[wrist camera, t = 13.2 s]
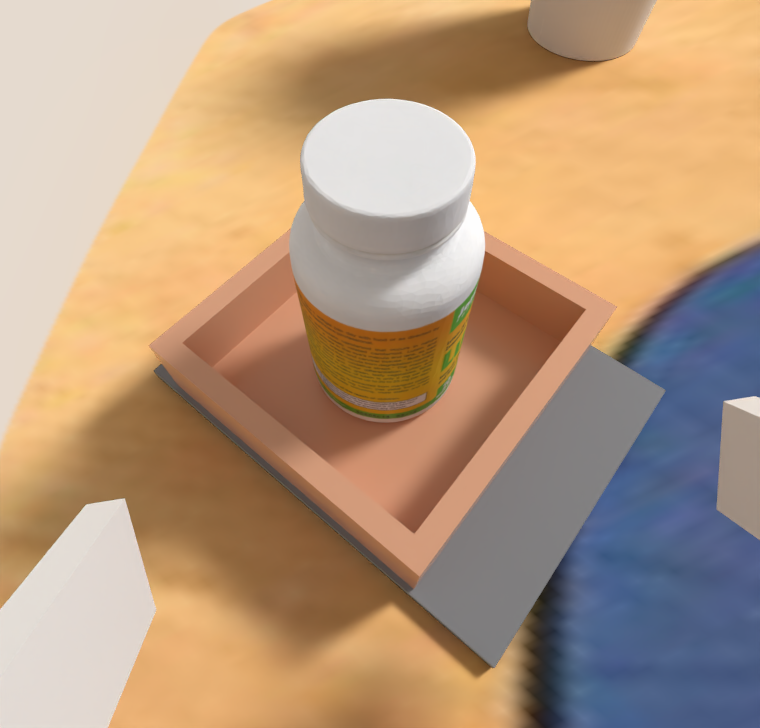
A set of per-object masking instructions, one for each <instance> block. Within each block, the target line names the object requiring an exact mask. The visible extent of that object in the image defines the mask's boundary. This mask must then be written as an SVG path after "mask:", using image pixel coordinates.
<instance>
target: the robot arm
mask: <svg viewBox="0 0 760 728" xmlns="http://www.w3.org/2000/svg"><path fill="white" fill-rule="evenodd" d="M717 510H718V511H720V512H721V513H722V514H724V515H725V516H727V517H728V518H730V519H731V520H732V521H734V522H735V523H737V524H738V525H739V526H741V527H742V528H744V529H745V530H746V531H748V532H749V533H751V534H752V535H753V536H755V537H756V538H758V539H759V540H760V398H758V397H756V396H754V397H748V398H742V399H735V400H729V401H723V417H722V433H721V449H720V465H719V481H718V497H717ZM155 612H156V607H155V604H154V600H153V597H152V593H151V590H150V586H149V583H148V579H147V575H146V572H145V568H144V565H143V561H142V558H141V554H140V551H139V547H138V543H137V540H136V536H135V533H134V529H133V526H132V522H131V518H130V515H129V511H128V508H127V504H126V501H125V498H123V499H117V500H110V501H104V502H98V503H92V504H86V505H85V506H84V508H83V509H82V510H81V511H80V513H79V514H78V515H77V516H76V517H75V519H74V520H73V521H72V522H71V524H70V525H69V526H68V527H67V528H66V530H65V531H64V532H63V533H62V535H61V536H60V537H59V538H58V539H57V541H56V542H55V543H54V544H53V546H52V547H51V548H50V549H49V550H48V552H47V553H46V554H45V555H44V557H43V558H42V559H41V560H40V561H39V563H38V564H37V565H36V566H35V568H34V569H33V570H32V571H31V573H30V574H29V575H28V576H27V577H26V579H25V580H24V581H23V582H22V584H21V585H20V586H19V587H18V588H17V590H16V591H15V592H14V593H13V595H12V596H11V597H10V598H9V599H8V601H7V602H6V603H5V604H4V606H3V607H2V608H1V609H0V728H108V726H109V723H110V721H111V719H112V716H113V714H114V711H115V709H116V706H117V704H118V702H119V699H120V697H121V694H122V692H123V689H124V687H125V685H126V682H127V680H128V677H129V675H130V672H131V670H132V668H133V665H134V663H135V660H136V658H137V655H138V653H139V651H140V648H141V646H142V643H143V641H144V638H145V636H146V634H147V631H148V629H149V626H150V624H151V622H152V619H153V617H154V614H155Z"/></svg>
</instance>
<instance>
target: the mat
mask: <svg viewBox="0 0 760 728" xmlns="http://www.w3.org/2000/svg"><path fill="white" fill-rule="evenodd" d="M154 372H155V374H156V375H157V376H158V377H159V378H160V379H162V380H163V381H164V382H165V383H166V384H167V385H168V386H170V387H171V388H172V389H173V390H174V391H175V392H176V393H178V394H179V395H180V396H181V397H182V398H183V399H184V400H186V401H187V402H188V403H189V404H190V405H191V406H193V407H194V408H195V409H196V410H197V411H198V412H199V413H201V414H202V415H203V416H204V417H205V418H206V419H207V420H209V421H210V422H211V423H212V424H213V425H214V426H215V427H217V428H218V429H219V430H220V431H221V432H222V433H223V434H225V435H226V436H227V437H228V438H229V439H230V440H231V441H233V442H234V443H235V444H236V445H237V446H238V447H239V448H241V449H242V450H243V451H244V452H245V453H246V454H248V455H249V456H250V457H251V458H252V459H253V460H254V461H256V462H257V463H258V464H259V465H260V466H261V467H262V468H264V469H265V470H266V471H267V472H268V473H269V474H270V475H272V476H273V477H274V478H275V479H276V480H277V481H278V482H280V483H281V484H282V485H283V486H284V487H285V488H286V489H288V490H289V491H290V492H291V493H292V494H293V495H294V496H296V497H297V498H298V499H299V500H300V501H301V502H303V503H304V504H305V505H306V506H307V507H308V508H309V509H311V510H312V511H313V512H314V513H315V514H316V515H317V516H319V517H320V518H321V519H322V520H323V521H324V522H325V523H327V524H328V525H329V526H330V527H331V528H332V529H333V530H335V531H336V532H337V533H338V534H339V535H340V536H341V537H343V538H344V539H345V540H346V541H347V542H348V543H349V544H351V545H352V546H353V547H354V548H355V549H356V550H358V551H359V552H360V553H361V554H362V555H363V556H364V557H366V558H367V559H368V560H369V561H370V562H371V563H372V564H374V565H375V566H376V567H377V568H378V569H379V570H380V571H382V572H383V573H384V574H385V575H386V576H387V577H388V578H390V579H391V580H392V581H393V582H394V583H395V584H396V585H398V586H399V587H400V588H401V589H402V590H403V591H404V592H406V593H407V594H408V595H409V596H410V597H411V598H413V599H414V600H415V601H416V602H417V603H418V604H419V605H421V606H422V607H423V608H424V609H425V610H426V611H427V612H429V613H430V614H431V615H432V616H433V617H434V618H435V619H437V620H438V621H439V622H440V623H441V624H442V625H443V626H445V627H446V628H447V629H448V630H449V631H450V632H451V633H453V634H454V635H455V636H456V637H457V638H458V639H460V640H461V641H462V642H463V643H464V644H465V645H466V646H468V647H469V648H470V649H471V650H472V651H473V652H474V653H476V654H477V655H478V656H479V657H480V658H481V659H482V660H484V661H485V662H486V663H487V664H488V665H489V666H490V667H492V668H495V666H496V665H497V663H498V662H499V660H500V658H501V657H502V655H503V653H504V652H505V650H506V649H507V647H508V645H509V644H510V642H511V640H512V639H513V637H514V636H515V634H516V632H517V631H518V629H519V628H520V626H521V624H522V623H523V621H524V619H525V618H526V616H527V615H528V613H529V611H530V610H531V608H532V606H533V605H534V603H535V602H536V600H537V598H538V597H539V595H540V594H541V592H542V590H543V589H544V587H545V585H546V584H547V582H548V581H549V579H550V577H551V576H552V574H553V572H554V571H555V569H556V568H557V566H558V564H559V563H560V561H561V559H562V558H563V556H564V555H565V553H566V551H567V550H568V548H569V547H570V545H571V543H572V542H573V540H574V538H575V537H576V535H577V534H578V532H579V530H580V529H581V527H582V525H583V524H584V522H585V521H586V519H587V517H588V516H589V514H590V513H591V511H592V509H593V508H594V506H595V504H596V503H597V501H598V500H599V498H600V496H601V495H602V493H603V491H604V490H605V488H606V487H607V485H608V483H609V482H610V480H611V478H612V477H613V475H614V474H615V472H616V470H617V469H618V467H619V466H620V464H621V462H622V461H623V459H624V457H625V456H626V454H627V453H628V451H629V449H630V448H631V446H632V444H633V443H634V441H635V440H636V438H637V436H638V435H639V433H640V432H641V430H642V428H643V427H644V425H645V423H646V422H647V420H648V419H649V417H650V415H651V414H652V412H653V410H654V409H655V407H656V406H657V404H658V402H659V401H660V399H661V397H662V396H663V394H664V393H665V391H666V390H664V389H663V388H661V387H659V386H658V385H656V384H654V383H653V382H651V381H649V380H648V379H646V378H644V377H643V376H641V375H639V374H638V373H636V372H634V371H633V370H631V369H629V368H628V367H626V366H624V365H623V364H621V363H619V362H618V361H616V360H614V359H613V358H611V357H610V356H608V355H606V354H605V353H603V352H601V351H600V350H598V349H596V348H595V347H593V346H591V347H590V348H589V350H588V351H587V352H586V354H585V355H584V356H583V358H582V359H581V361H580V362H579V363H578V365H577V366H576V367H575V369H574V370H573V371H572V373H571V374H570V376H569V377H568V378H567V380H566V381H565V382H564V384H563V385H562V387H561V388H560V389H559V391H558V392H557V393H556V395H555V396H554V398H553V399H552V400H551V402H550V403H549V404H548V406H547V407H546V409H545V410H544V411H543V413H542V414H541V415H540V417H539V418H538V420H537V421H536V422H535V424H534V425H533V426H532V428H531V429H530V430H529V432H528V433H527V435H526V436H525V437H524V439H523V440H522V441H521V443H520V444H519V446H518V447H517V448H516V450H515V451H514V452H513V454H512V455H511V457H510V458H509V459H508V461H507V462H506V463H505V465H504V466H503V468H502V469H501V470H500V472H499V473H498V474H497V476H496V477H495V479H494V480H493V481H492V483H491V484H490V485H489V487H488V488H487V489H486V491H485V492H484V494H483V495H482V496H481V498H480V499H479V500H478V502H477V503H476V505H475V506H474V507H473V509H472V510H471V511H470V513H469V514H468V516H467V517H466V518H465V520H464V521H463V522H462V524H461V525H460V527H459V528H458V529H457V531H456V532H455V533H454V535H453V536H452V537H451V539H450V540H449V542H448V543H447V544H446V546H445V547H444V548H443V550H442V551H441V553H440V554H439V555H438V557H437V558H436V559H435V561H434V562H433V564H432V565H431V566H430V568H429V569H428V570H427V572H426V573H425V575H424V576H423V577H422V579H421V580H420V581H419V583H418V584H417V586H416V587H415V588H414V589H413V588H412V587H411V586H410V585H408V584H407V583H406V582H405V581H404V580H403V579H401V578H400V577H399V576H398V575H397V574H396V573H395V572H393V571H392V570H391V569H390V568H389V567H388V566H386V565H385V564H384V563H383V562H382V561H381V560H379V559H378V558H377V557H376V556H375V555H374V554H373V553H371V552H370V551H369V550H368V549H367V548H366V547H364V546H363V545H362V544H361V543H360V542H359V541H358V540H356V539H355V538H354V537H353V536H352V535H351V534H349V533H348V532H347V531H346V530H345V529H344V528H342V527H341V526H340V525H339V524H338V523H337V522H336V521H334V520H333V519H332V518H331V517H330V516H329V515H327V514H326V513H325V512H324V511H323V510H322V509H321V508H319V507H318V506H317V505H316V504H315V503H314V502H312V501H311V500H310V499H309V498H308V497H307V496H305V495H304V494H303V493H302V492H301V491H300V490H299V489H297V488H296V487H295V486H294V485H293V484H292V483H290V482H289V481H288V480H287V479H286V478H285V477H284V476H282V475H281V474H280V473H279V472H278V471H277V470H275V469H274V468H273V467H272V466H271V465H270V464H268V463H267V462H266V461H265V460H264V459H263V458H262V457H260V456H259V455H258V454H257V453H256V452H255V451H253V450H252V449H251V448H250V447H249V446H248V445H247V444H245V443H244V442H243V441H242V440H241V439H240V438H238V437H237V436H236V435H235V434H234V433H233V432H231V431H230V430H229V429H228V428H227V427H226V426H225V425H223V424H222V423H221V422H220V421H219V420H218V419H216V418H215V417H214V416H213V415H212V414H211V413H210V412H208V411H207V410H206V409H205V408H204V407H203V406H201V405H200V404H199V403H198V402H197V401H196V400H194V399H193V398H192V397H191V396H190V395H189V394H188V393H186V392H185V391H184V390H183V389H182V388H181V387H179V386H178V385H177V384H176V382H175V381H174V380H173V378H172V377H171V375H170V374H169V373H168V371H167V370H166V369H165V367H164V366H163V365H162V364H161V365H160V366H159V367H157V368H156V369H155V370H154Z"/></svg>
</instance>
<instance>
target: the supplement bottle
mask: <svg viewBox="0 0 760 728" xmlns="http://www.w3.org/2000/svg"><path fill="white" fill-rule="evenodd" d="M300 165H301V174H302V181H303V190H304V200H305V201H304V202H303V203H302V205H301V206H300V208H299V210H298V212H297V214H296V216H295V218H294V221H293V224H292V227H291V232H290V239H289V252H290V260H291V267H292V272H293V277H294V281H295V286H296V290H297V294H298V298H299V303H300V307H301V311H302V316H303V320H304V324H305V329H306V334H307V338H308V343H309V347H310V351H311V356H312V360H313V365H314V369H315V372H316V375H317V378H318V381H319V383H320V385H321V387H322V389H323V390H324V392H325V393H326V395H327V396H328V397H329V398H330V400H331V401H332V402H333V403H334V404H336V405H337V406H338V407H339V408H340V409H342V410H343V411H345V412H346V413H348V414H350V415H352V416H354V417H357V418H360V419H363V420H367V421H372V422H380V423H390V422H399V421H404V420H407V419H410V418H413V417H415V416H418V415H420V414H422V413H424V412H425V411H427V410H428V409H430V408H431V407H432V406H434V405H435V404H436V403H437V402H438V401H439V400H440V399H441V398H442V396H443V395H444V394H445V392H446V391H447V389H448V387H449V385H450V383H451V381H452V378H453V375H454V372H455V369H456V365H457V361H458V357H459V353H460V349H461V346H462V342H463V338H464V334H465V330H466V326H467V322H468V319H469V315H470V311H471V308H472V304H473V300H474V296H475V292H476V289H477V285H478V282H479V278H480V274H481V270H482V266H483V260H484V254H485V236H484V230H483V226H482V223H481V220H480V217H479V215H478V213H477V211H476V209H475V208H474V206H473V205H472V203H471V202H470V196H471V190H472V185H473V179H474V173H475V153H474V149H473V146H472V143H471V141H470V139H469V137H468V136H467V134H466V133H465V131H464V130H463V129H462V128H461V127H460V126H459V125H458V124H457V123H456V122H455V121H454V120H452V119H451V118H450V117H448V116H447V115H445V114H444V113H442V112H440V111H438V110H436V109H434V108H432V107H429V106H427V105H424V104H420V103H417V102H412V101H407V100H399V99H375V100H367V101H362V102H358V103H353V104H351V105H348V106H345V107H342V108H339V109H338V110H336V111H334V112H332V113H330V114H329V115H327V116H326V117H324V118H323V119H322V120H320V121H319V122H318V123H317V124H316V125H315V126H314V127H313V128H312V130H311V131H310V132H309V134H308V135H307V137H306V139H305V141H304V144H303V147H302V151H301V158H300Z"/></svg>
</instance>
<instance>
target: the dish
mask: <svg viewBox="0 0 760 728" xmlns="http://www.w3.org/2000/svg"><path fill="white" fill-rule="evenodd" d="M290 232H291V229H289V230H288V231H287V232H286V233H285V234H283V235H282V236H281V237H280V238H278V239H277V240H276V241H275V242H274V243H272V244H271V245H270V246H269V247H268V248H266V249H265V250H264V251H263V252H262V253H260V254H259V255H258V256H257V257H255V258H254V259H253V260H252V261H251V262H249V263H248V264H247V265H246V266H245V267H243V268H242V269H241V270H240V271H238V272H237V273H236V274H235V275H234V276H232V277H231V278H230V279H229V280H228V281H226V282H225V283H224V284H223V285H221V286H220V287H219V288H218V289H217V290H215V291H214V292H213V293H212V294H211V295H209V296H208V297H207V298H206V299H205V300H203V301H202V302H201V303H200V304H198V305H197V306H196V307H195V308H194V309H192V310H191V311H190V312H189V313H188V314H186V315H185V316H184V317H183V318H181V319H180V320H179V321H178V322H177V323H175V324H174V325H173V326H172V327H171V328H169V329H168V330H167V331H166V332H164V333H163V334H162V335H161V336H160V337H158V338H157V339H156V340H155V341H154V342H152V343H151V344H150V345H149V347H150V348H151V350H152V351H153V352H154V354H155V355H156V357H157V358H158V359H159V361H160V362H161V363H162V365H163V366H164V367H165V369H166V370H167V371H168V373H169V374H170V375H171V377H172V378H173V380H174V381H175V382H176V384H177V385H178V386H179V387H181V388H182V389H183V390H184V391H185V392H186V393H188V394H189V395H190V396H191V397H192V398H193V399H194V400H196V401H197V402H198V403H199V404H200V405H201V406H203V407H204V408H205V409H206V410H207V411H208V412H210V413H211V414H212V415H213V416H214V417H215V418H216V419H218V420H219V421H220V422H221V423H222V424H223V425H225V426H226V427H227V428H228V429H229V430H230V431H231V432H233V433H234V434H235V435H236V436H237V437H238V438H240V439H241V440H242V441H243V442H244V443H245V444H247V445H248V446H249V447H250V448H251V449H252V450H253V451H255V452H256V453H257V454H258V455H259V456H260V457H262V458H263V459H264V460H265V461H266V462H267V463H268V464H270V465H271V466H272V467H273V468H274V469H275V470H277V471H278V472H279V473H280V474H281V475H282V476H284V477H285V478H286V479H287V480H288V481H289V482H290V483H292V484H293V485H294V486H295V487H296V488H297V489H299V490H300V491H301V492H302V493H303V494H304V495H305V496H307V497H308V498H309V499H310V500H311V501H312V502H314V503H315V504H316V505H317V506H318V507H319V508H321V509H322V510H323V511H324V512H325V513H326V514H327V515H329V516H330V517H331V518H332V519H333V520H334V521H336V522H337V523H338V524H339V525H340V526H341V527H342V528H344V529H345V530H346V531H347V532H348V533H349V534H351V535H352V536H353V537H354V538H355V539H356V540H358V541H359V542H360V543H361V544H362V545H363V546H364V547H366V548H367V549H368V550H369V551H370V552H371V553H373V554H374V555H375V556H376V557H377V558H378V559H379V560H381V561H382V562H383V563H384V564H385V565H386V566H388V567H389V568H390V569H391V570H392V571H393V572H395V573H396V574H397V575H398V576H399V577H400V578H401V579H403V580H404V581H405V582H406V583H407V584H408V585H410V586H411V587H412V588H413V589H414V588H415V587H416V586H417V584H418V583H419V581H420V580H421V579H422V577H423V576H424V575H425V573H426V572H427V570H428V569H429V568H430V566H431V565H432V564H433V562H434V561H435V559H436V558H437V557H438V555H439V554H440V553H441V551H442V550H443V548H444V547H445V546H446V544H447V543H448V542H449V540H450V539H451V537H452V536H453V535H454V533H455V532H456V531H457V529H458V528H459V527H460V525H461V524H462V522H463V521H464V520H465V518H466V517H467V516H468V514H469V513H470V511H471V510H472V509H473V507H474V506H475V505H476V503H477V502H478V500H479V499H480V498H481V496H482V495H483V494H484V492H485V491H486V489H487V488H488V487H489V485H490V484H491V483H492V481H493V480H494V479H495V477H496V476H497V474H498V473H499V472H500V470H501V469H502V468H503V466H504V465H505V463H506V462H507V461H508V459H509V458H510V457H511V455H512V454H513V452H514V451H515V450H516V448H517V447H518V446H519V444H520V443H521V441H522V440H523V439H524V437H525V436H526V435H527V433H528V432H529V430H530V429H531V428H532V426H533V425H534V424H535V422H536V421H537V420H538V418H539V417H540V415H541V414H542V413H543V411H544V410H545V409H546V407H547V406H548V404H549V403H550V402H551V400H552V399H553V398H554V396H555V395H556V393H557V392H558V391H559V389H560V388H561V387H562V385H563V384H564V382H565V381H566V380H567V378H568V377H569V376H570V374H571V373H572V371H573V370H574V369H575V367H576V366H577V365H578V363H579V362H580V361H581V359H582V358H583V356H584V355H585V354H586V352H587V351H588V350H589V348H590V347H591V345H592V344H593V342H594V341H595V339H596V338H597V336H598V335H599V333H600V332H601V330H602V329H603V327H604V326H605V324H606V323H607V321H608V320H609V318H610V317H611V315H612V314H613V312H614V311H615V309H616V308H617V306H615V305H613V304H611V303H610V302H608V301H606V300H604V299H603V298H601V297H599V296H597V295H596V294H594V293H592V292H590V291H589V290H587V289H585V288H583V287H581V286H580V285H578V284H576V283H574V282H573V281H571V280H569V279H567V278H566V277H564V276H562V275H560V274H559V273H557V272H555V271H553V270H551V269H550V268H548V267H546V266H544V265H543V264H541V263H539V262H537V261H536V260H534V259H532V258H530V257H529V256H527V255H525V254H523V253H522V252H520V251H518V250H516V249H514V248H513V247H511V246H509V245H507V244H506V243H504V242H502V241H500V240H499V239H497V238H495V237H493V236H492V235H490V234H488V233H486V232H484V236H485V254H484V260H483V266H482V270H481V274H480V278H479V282H478V285H477V289H476V292H475V296H474V300H473V304H472V308H471V311H470V315H469V319H468V322H467V326H466V330H465V334H464V338H463V342H462V346H461V349H460V353H459V357H458V361H457V365H456V369H455V372H454V375H453V378H452V381H451V383H450V385H449V387H448V389H447V391H446V392H445V394H444V395H443V396H442V398H441V399H440V400H439V401H438V402H437V403H436V404H435V405H434V406H432V407H431V408H430V409H428V410H427V411H425V412H424V413H422V414H420V415H418V416H415V417H413V418H410V419H407V420H404V421H399V422H390V423H380V422H372V421H367V420H363V419H360V418H357V417H354V416H352V415H350V414H348V413H346V412H345V411H343V410H342V409H340V408H339V407H338V406H337V405H336V404H334V403H333V402H332V401H331V400H330V398H329V397H328V396H327V395H326V393H325V392H324V390H323V389H322V387H321V385H320V383H319V381H318V378H317V375H316V372H315V369H314V365H313V360H312V356H311V351H310V347H309V343H308V338H307V334H306V329H305V324H304V320H303V316H302V311H301V307H300V303H299V298H298V294H297V290H296V286H295V281H294V277H293V272H292V267H291V260H290V252H289V239H290Z"/></svg>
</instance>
